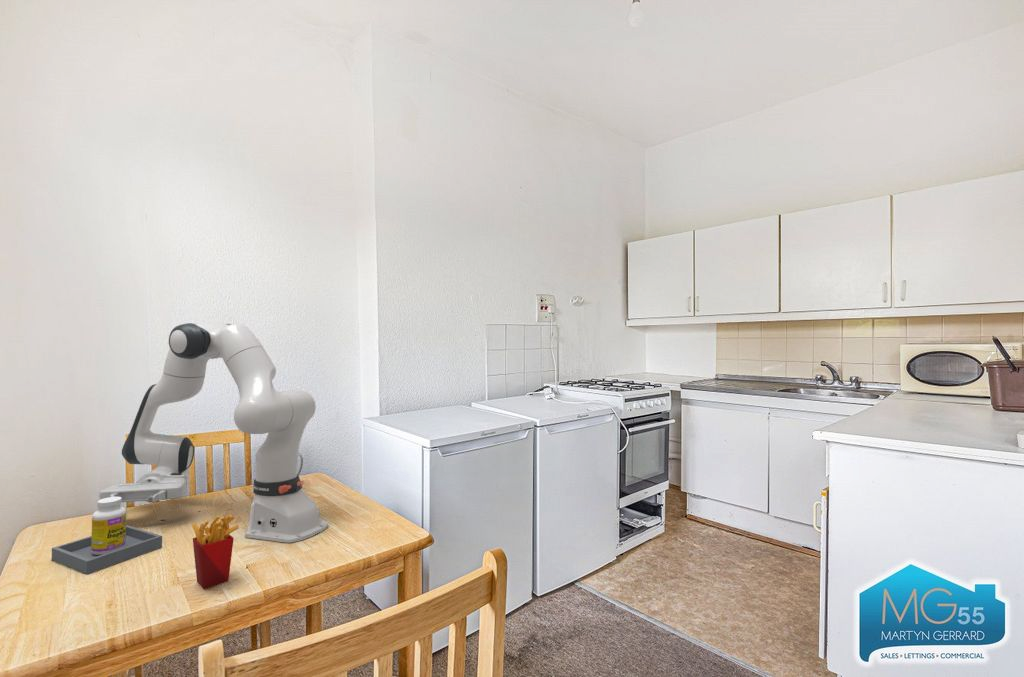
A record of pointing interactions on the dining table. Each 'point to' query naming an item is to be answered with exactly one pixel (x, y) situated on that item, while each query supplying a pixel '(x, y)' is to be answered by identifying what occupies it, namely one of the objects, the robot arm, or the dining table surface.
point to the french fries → (213, 551)
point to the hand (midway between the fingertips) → (131, 500)
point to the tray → (86, 562)
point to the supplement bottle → (108, 526)
